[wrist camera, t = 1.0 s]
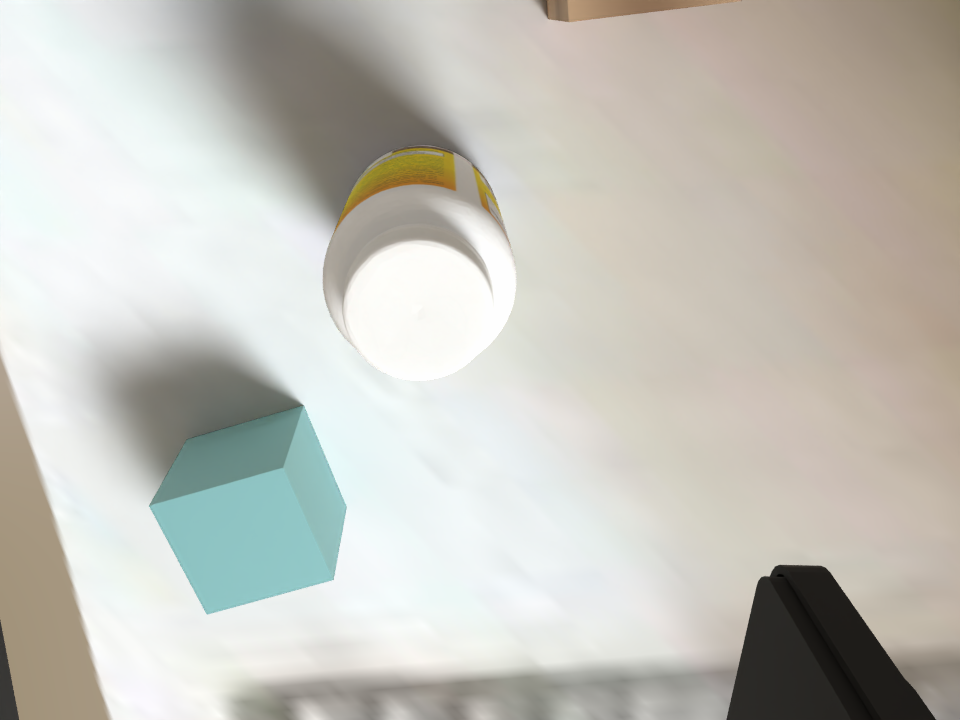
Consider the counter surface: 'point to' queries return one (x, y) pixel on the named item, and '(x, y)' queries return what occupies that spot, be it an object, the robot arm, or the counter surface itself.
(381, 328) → the supplement bottle
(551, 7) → the walnut block
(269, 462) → the teal block
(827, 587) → the robot arm
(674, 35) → the counter surface
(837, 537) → the counter surface
